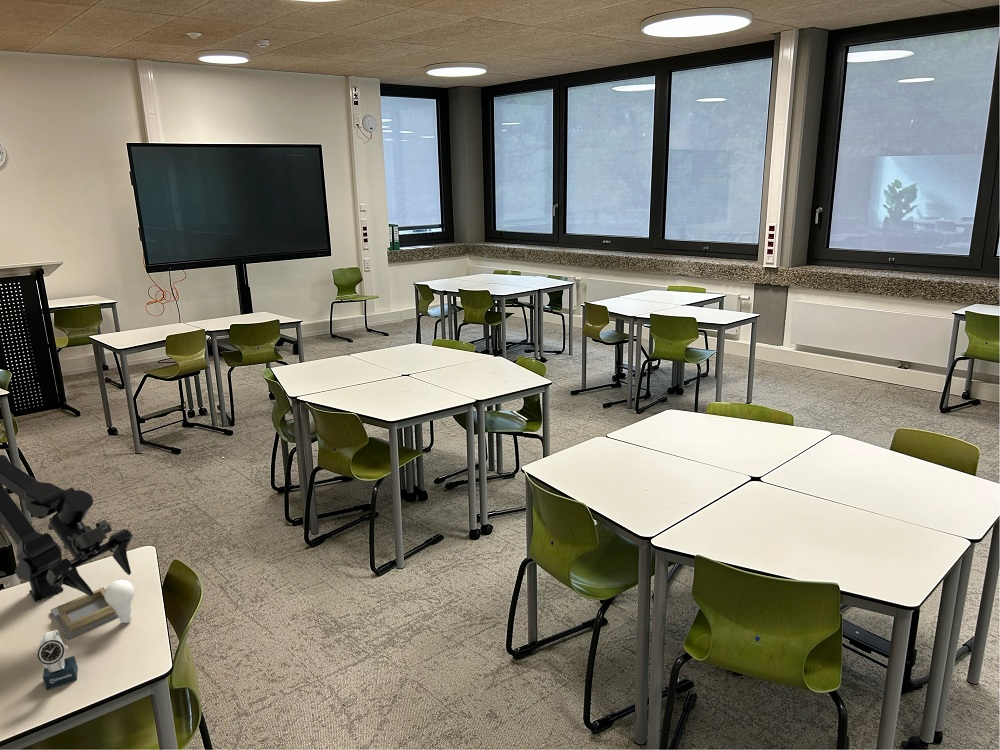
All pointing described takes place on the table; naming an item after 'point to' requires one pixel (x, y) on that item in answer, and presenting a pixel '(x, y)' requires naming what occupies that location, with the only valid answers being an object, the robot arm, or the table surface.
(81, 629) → the socket plate
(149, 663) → the table surface
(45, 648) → the watch
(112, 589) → the lightbulb
